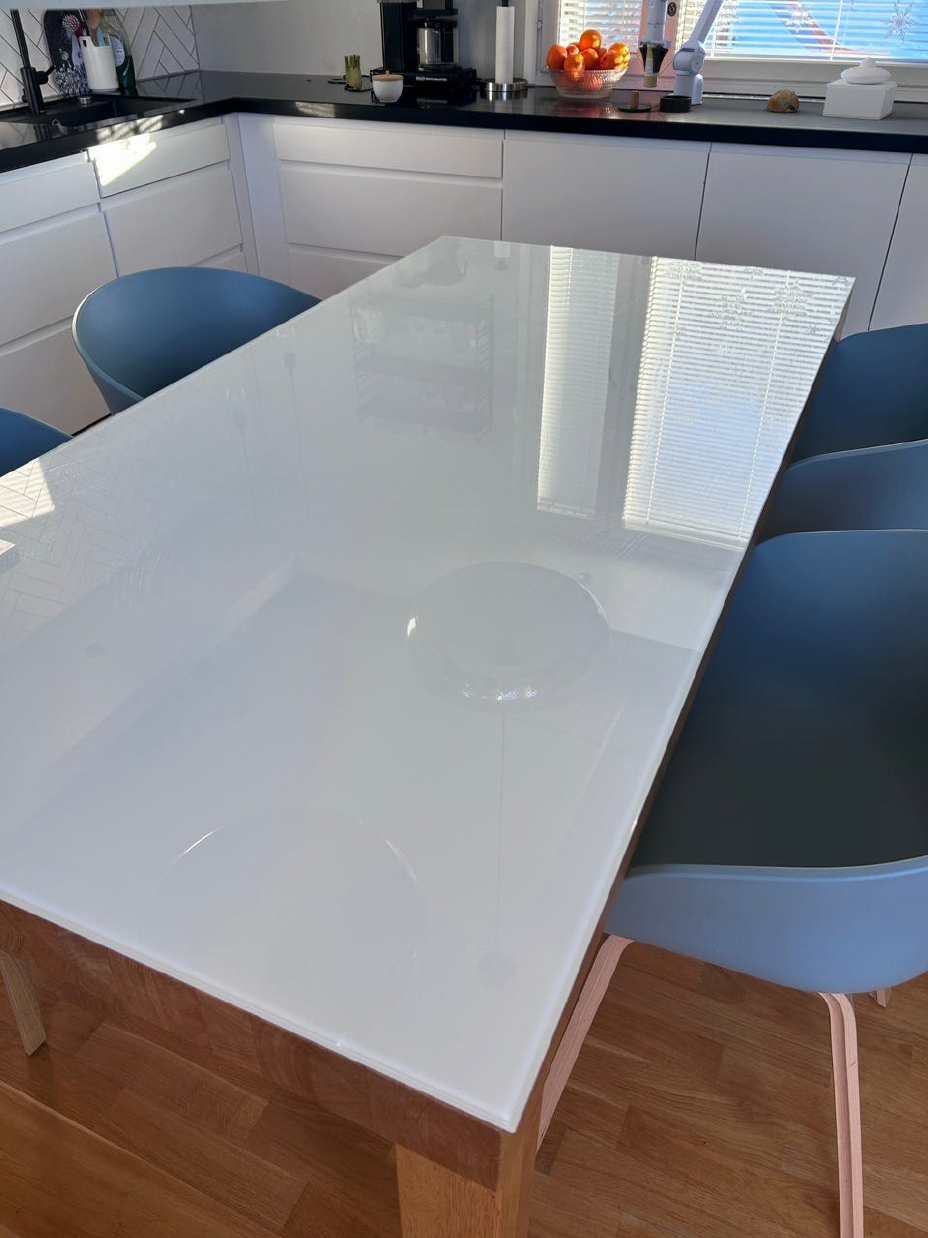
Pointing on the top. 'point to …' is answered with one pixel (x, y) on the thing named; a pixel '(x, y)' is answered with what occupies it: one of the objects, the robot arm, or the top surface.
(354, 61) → the fennel bulb
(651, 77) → the sprinkles bottle
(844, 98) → the white lidded box
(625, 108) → the pan lid
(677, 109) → the pan
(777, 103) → the bread roll
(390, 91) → the sugar bowl
